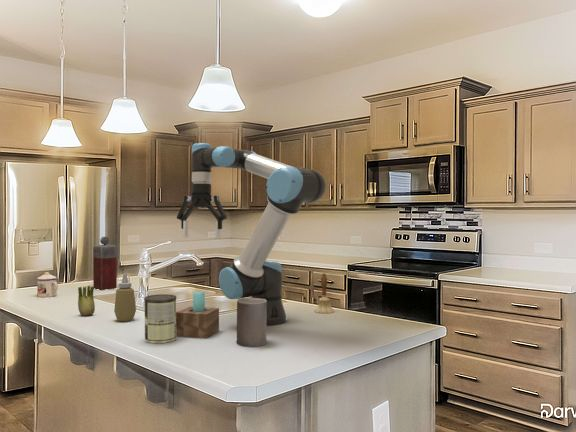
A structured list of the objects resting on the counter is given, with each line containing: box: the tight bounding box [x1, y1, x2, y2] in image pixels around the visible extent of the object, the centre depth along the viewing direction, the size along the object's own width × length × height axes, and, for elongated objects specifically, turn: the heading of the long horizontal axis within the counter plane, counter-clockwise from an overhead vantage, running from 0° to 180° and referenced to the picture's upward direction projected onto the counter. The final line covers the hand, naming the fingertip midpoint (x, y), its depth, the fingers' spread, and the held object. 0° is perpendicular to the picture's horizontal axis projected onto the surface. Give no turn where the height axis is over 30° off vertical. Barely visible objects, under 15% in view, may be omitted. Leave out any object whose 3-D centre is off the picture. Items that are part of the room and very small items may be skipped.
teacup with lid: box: [36, 271, 59, 298], centre depth 254 cm, size 12×9×12 cm
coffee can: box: [143, 293, 177, 344], centre depth 170 cm, size 10×10×14 cm
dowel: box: [192, 291, 206, 312], centre depth 179 cm, size 4×4×14 cm
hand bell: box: [314, 273, 335, 314], centre depth 217 cm, size 8×8×16 cm
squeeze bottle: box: [113, 273, 137, 322], centre depth 199 cm, size 8×8×18 cm
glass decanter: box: [92, 236, 118, 291], centre depth 279 cm, size 9×11×28 cm
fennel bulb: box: [77, 285, 96, 317], centre depth 208 cm, size 6×5×12 cm
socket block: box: [176, 306, 220, 339], centre depth 179 cm, size 11×11×8 cm
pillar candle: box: [235, 296, 267, 348], centre depth 166 cm, size 10×10×15 cm
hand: (201, 237), depth 203 cm, fingers open, 13 cm apart
